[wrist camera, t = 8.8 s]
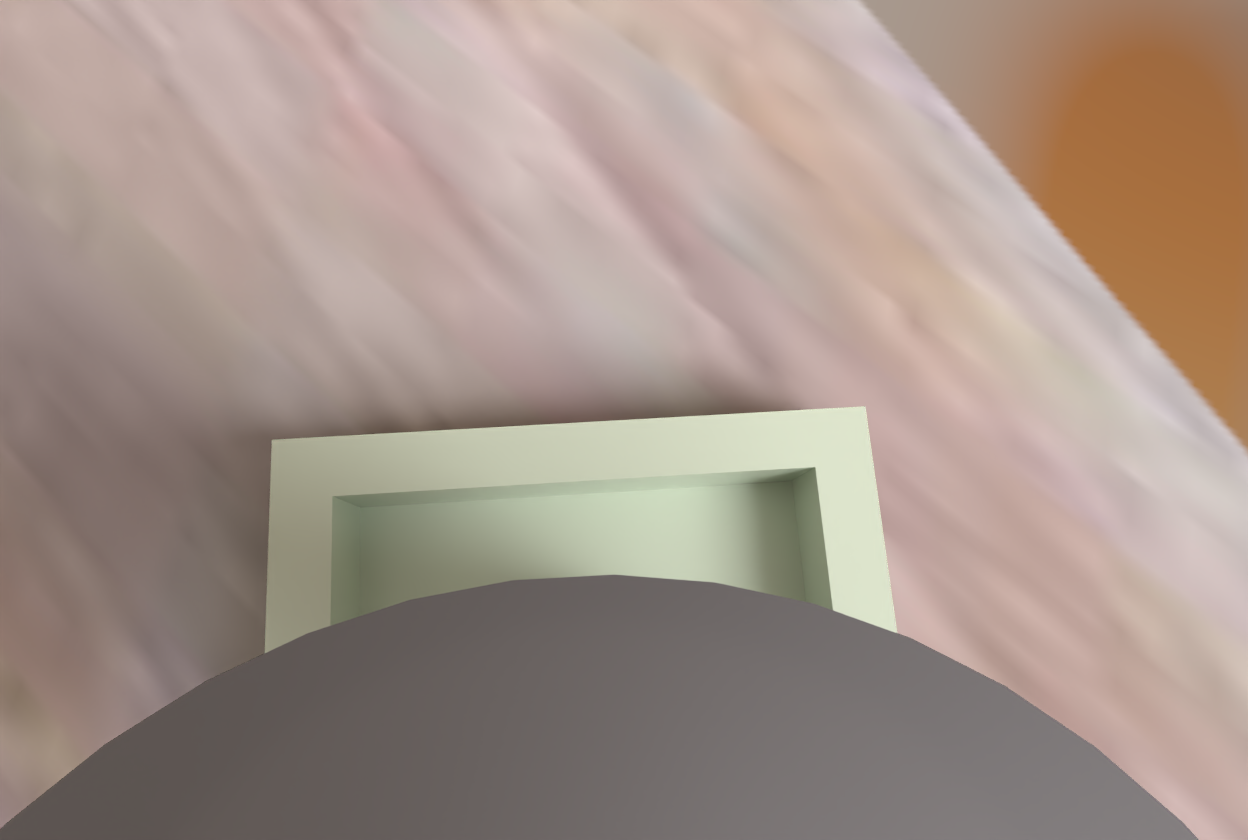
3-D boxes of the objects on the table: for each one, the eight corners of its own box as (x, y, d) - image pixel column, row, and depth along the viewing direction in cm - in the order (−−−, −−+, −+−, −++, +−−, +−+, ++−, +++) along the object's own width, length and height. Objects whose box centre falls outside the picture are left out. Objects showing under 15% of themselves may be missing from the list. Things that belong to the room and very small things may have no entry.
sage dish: (903, 1007, 16) (960, 1080, 13) (301, 1067, 15) (247, 1157, 13) (829, 432, 19) (864, 406, 16) (315, 461, 18) (271, 439, 15)
